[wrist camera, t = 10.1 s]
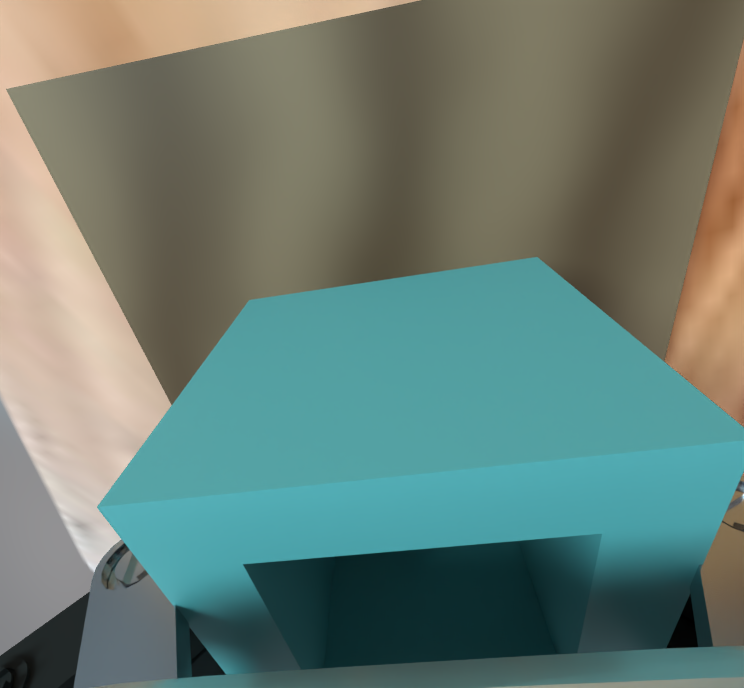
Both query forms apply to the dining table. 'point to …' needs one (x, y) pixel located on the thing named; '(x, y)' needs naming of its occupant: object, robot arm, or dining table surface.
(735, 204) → the dining table surface
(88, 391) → the dining table surface
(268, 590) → the collar
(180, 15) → the dining table surface
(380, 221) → the post board
